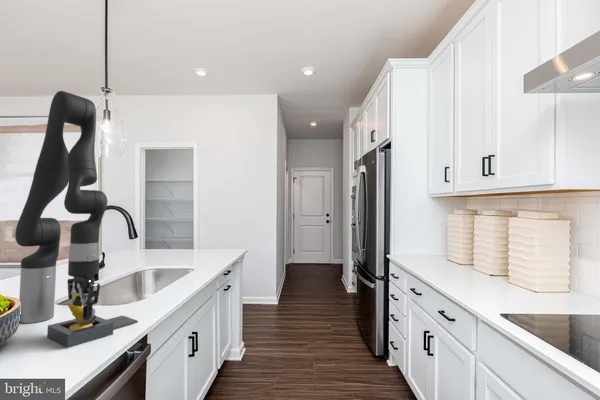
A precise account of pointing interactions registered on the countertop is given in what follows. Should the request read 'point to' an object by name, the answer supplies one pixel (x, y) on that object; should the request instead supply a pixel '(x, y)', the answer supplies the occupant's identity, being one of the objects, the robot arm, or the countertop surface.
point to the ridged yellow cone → (81, 315)
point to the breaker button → (76, 326)
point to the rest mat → (122, 321)
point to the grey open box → (79, 332)
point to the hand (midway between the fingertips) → (82, 316)
